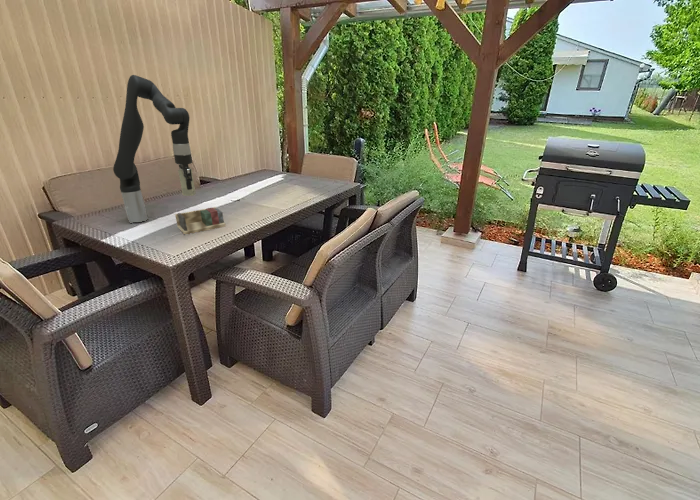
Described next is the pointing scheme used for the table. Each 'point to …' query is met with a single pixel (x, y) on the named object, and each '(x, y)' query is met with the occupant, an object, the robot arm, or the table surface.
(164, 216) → the table surface
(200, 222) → the shelf
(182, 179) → the box
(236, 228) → the table surface
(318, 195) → the table surface
